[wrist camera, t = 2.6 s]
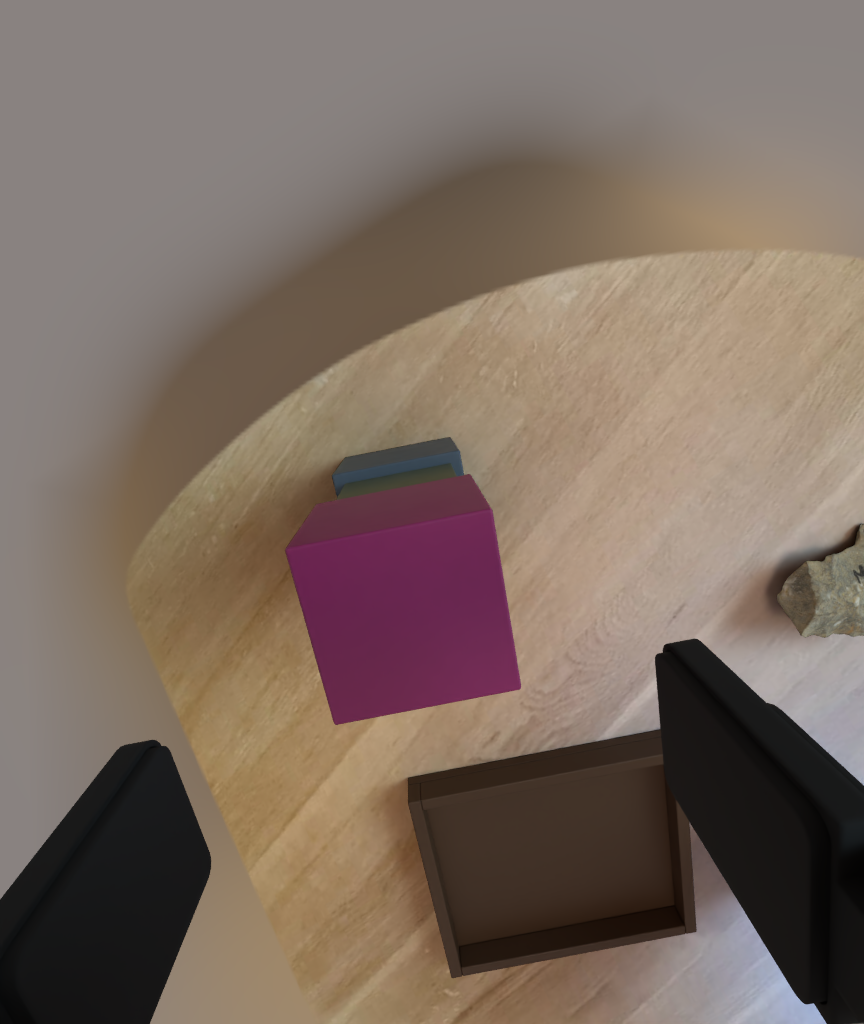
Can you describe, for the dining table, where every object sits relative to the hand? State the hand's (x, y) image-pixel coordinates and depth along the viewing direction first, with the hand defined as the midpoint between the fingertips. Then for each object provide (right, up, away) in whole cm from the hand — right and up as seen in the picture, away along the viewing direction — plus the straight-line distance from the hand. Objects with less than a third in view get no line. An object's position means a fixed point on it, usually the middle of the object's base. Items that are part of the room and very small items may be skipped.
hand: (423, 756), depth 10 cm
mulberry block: (-1, +3, +10) cm, 10 cm away
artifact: (+25, 0, +22) cm, 34 cm away
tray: (+9, -19, +27) cm, 34 cm away
